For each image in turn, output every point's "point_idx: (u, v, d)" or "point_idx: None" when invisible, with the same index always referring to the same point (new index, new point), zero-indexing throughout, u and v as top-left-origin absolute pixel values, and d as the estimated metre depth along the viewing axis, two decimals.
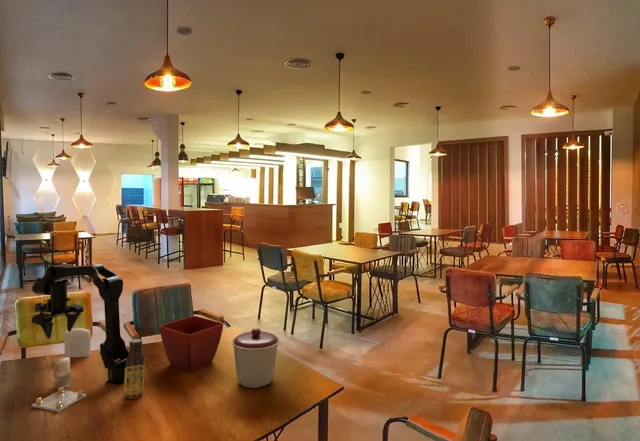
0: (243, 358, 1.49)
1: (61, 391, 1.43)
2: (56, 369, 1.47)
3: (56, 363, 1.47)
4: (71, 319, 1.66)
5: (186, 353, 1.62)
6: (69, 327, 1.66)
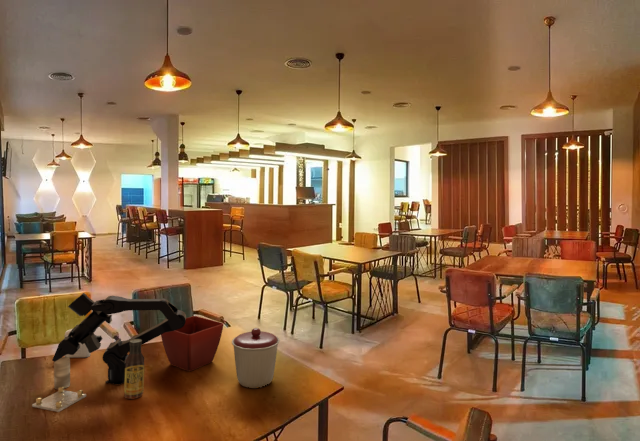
0: (243, 358, 1.49)
1: (61, 391, 1.43)
2: (56, 369, 1.47)
3: (56, 363, 1.47)
4: None
5: (186, 353, 1.62)
6: None
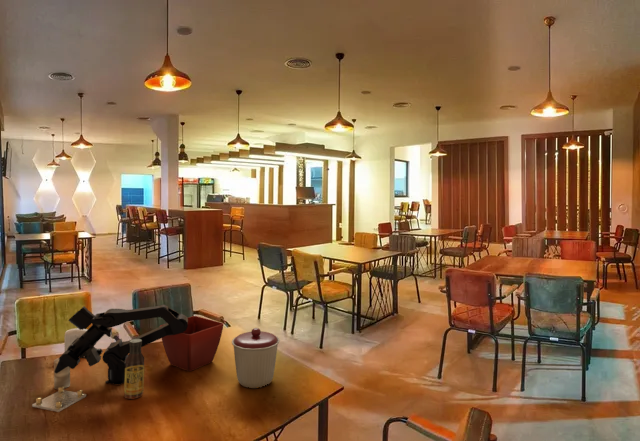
0: (243, 358, 1.49)
1: (61, 391, 1.43)
2: None
3: (56, 362, 1.47)
4: None
5: (186, 353, 1.62)
6: None
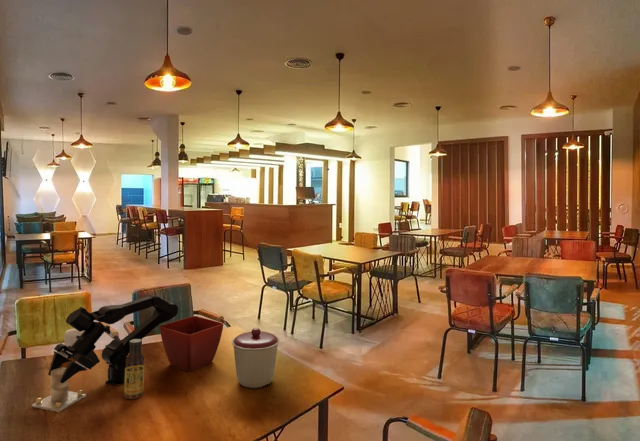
0: (243, 358, 1.49)
1: None
2: (58, 381, 1.36)
3: (58, 374, 1.36)
4: None
5: (186, 353, 1.62)
6: None
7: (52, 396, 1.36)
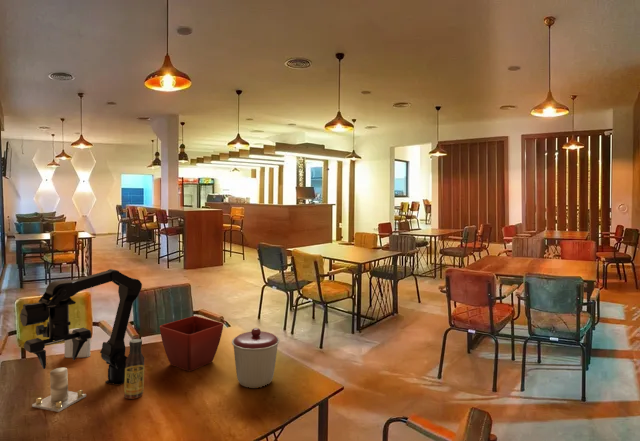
0: (243, 358, 1.49)
1: None
2: (57, 381, 1.36)
3: (58, 374, 1.36)
4: (75, 346, 1.41)
5: (186, 353, 1.62)
6: (73, 355, 1.42)
7: (52, 396, 1.36)
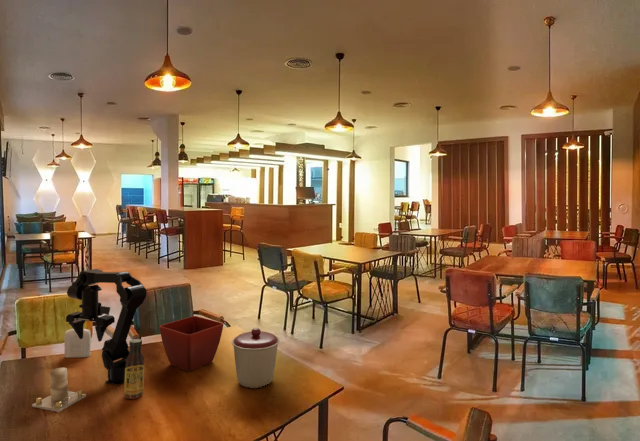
0: (243, 358, 1.49)
1: None
2: (58, 381, 1.36)
3: (58, 374, 1.36)
4: None
5: (186, 353, 1.62)
6: None
7: (52, 396, 1.36)
